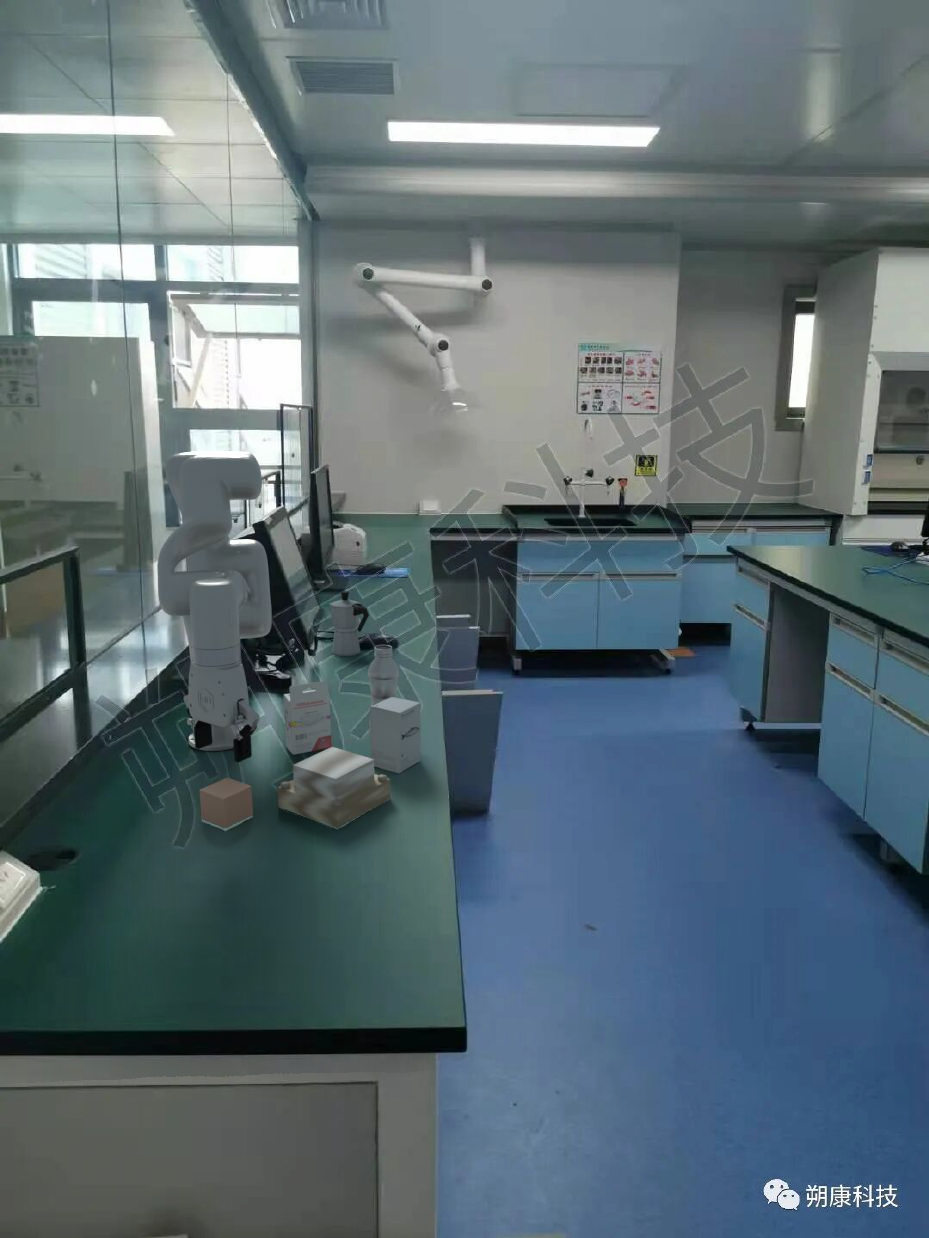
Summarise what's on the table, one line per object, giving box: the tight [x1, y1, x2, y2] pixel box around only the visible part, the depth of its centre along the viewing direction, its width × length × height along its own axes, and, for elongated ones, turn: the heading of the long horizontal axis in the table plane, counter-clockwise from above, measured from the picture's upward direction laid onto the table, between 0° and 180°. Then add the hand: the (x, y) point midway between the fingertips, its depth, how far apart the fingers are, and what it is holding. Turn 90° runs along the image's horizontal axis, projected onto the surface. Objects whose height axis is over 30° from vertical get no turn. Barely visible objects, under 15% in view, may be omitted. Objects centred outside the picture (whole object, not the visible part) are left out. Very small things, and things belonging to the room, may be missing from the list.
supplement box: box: [369, 697, 421, 774], centre depth 165 cm, size 7×7×13 cm
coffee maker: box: [328, 590, 370, 657], centre depth 240 cm, size 15×9×18 cm, turn 55°
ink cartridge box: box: [283, 680, 333, 756], centre depth 172 cm, size 9×5×15 cm, turn 117°
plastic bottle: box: [367, 644, 400, 729], centre depth 178 cm, size 6×7×20 cm
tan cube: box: [199, 777, 254, 828], centre depth 143 cm, size 6×6×6 cm
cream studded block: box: [277, 746, 391, 828], centre depth 149 cm, size 14×14×8 cm
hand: (223, 752), depth 140 cm, fingers open, 9 cm apart
